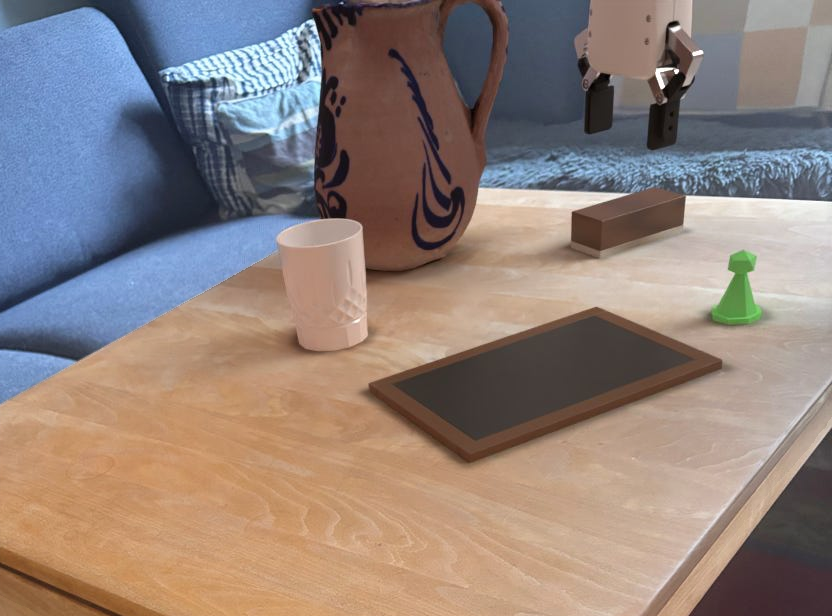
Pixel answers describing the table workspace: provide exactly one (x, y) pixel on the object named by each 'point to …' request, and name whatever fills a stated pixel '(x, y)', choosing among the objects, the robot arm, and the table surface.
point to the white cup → (325, 282)
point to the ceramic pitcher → (399, 127)
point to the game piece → (738, 293)
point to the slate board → (539, 381)
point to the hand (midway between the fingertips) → (628, 138)
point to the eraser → (627, 222)
